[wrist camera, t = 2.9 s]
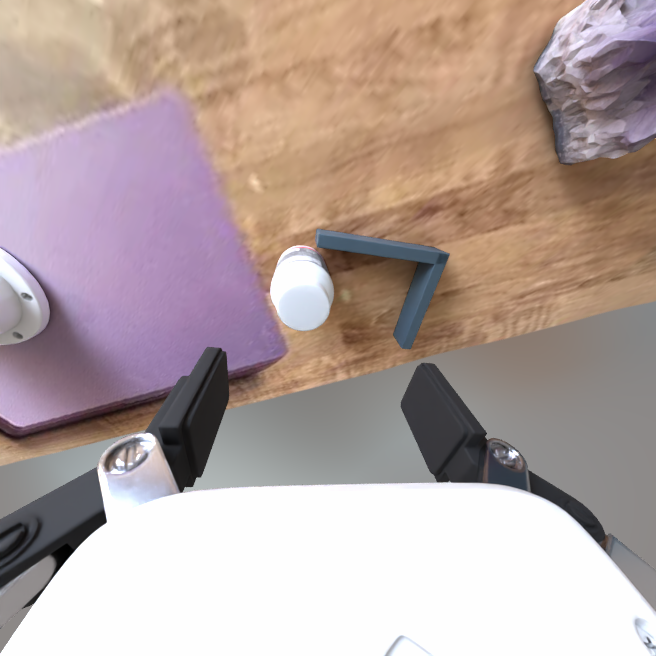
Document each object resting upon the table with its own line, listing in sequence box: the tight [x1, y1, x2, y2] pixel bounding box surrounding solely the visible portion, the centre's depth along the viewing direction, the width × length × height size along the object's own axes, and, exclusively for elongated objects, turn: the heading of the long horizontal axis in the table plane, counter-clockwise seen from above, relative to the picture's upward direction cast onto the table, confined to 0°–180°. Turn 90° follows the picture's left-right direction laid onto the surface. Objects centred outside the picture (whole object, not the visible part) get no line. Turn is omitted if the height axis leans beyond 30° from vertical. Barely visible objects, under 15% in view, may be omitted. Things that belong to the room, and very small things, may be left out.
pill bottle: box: [271, 246, 334, 331], centre depth 21 cm, size 5×5×10 cm
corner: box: [315, 229, 450, 349], centre depth 26 cm, size 13×12×3 cm
